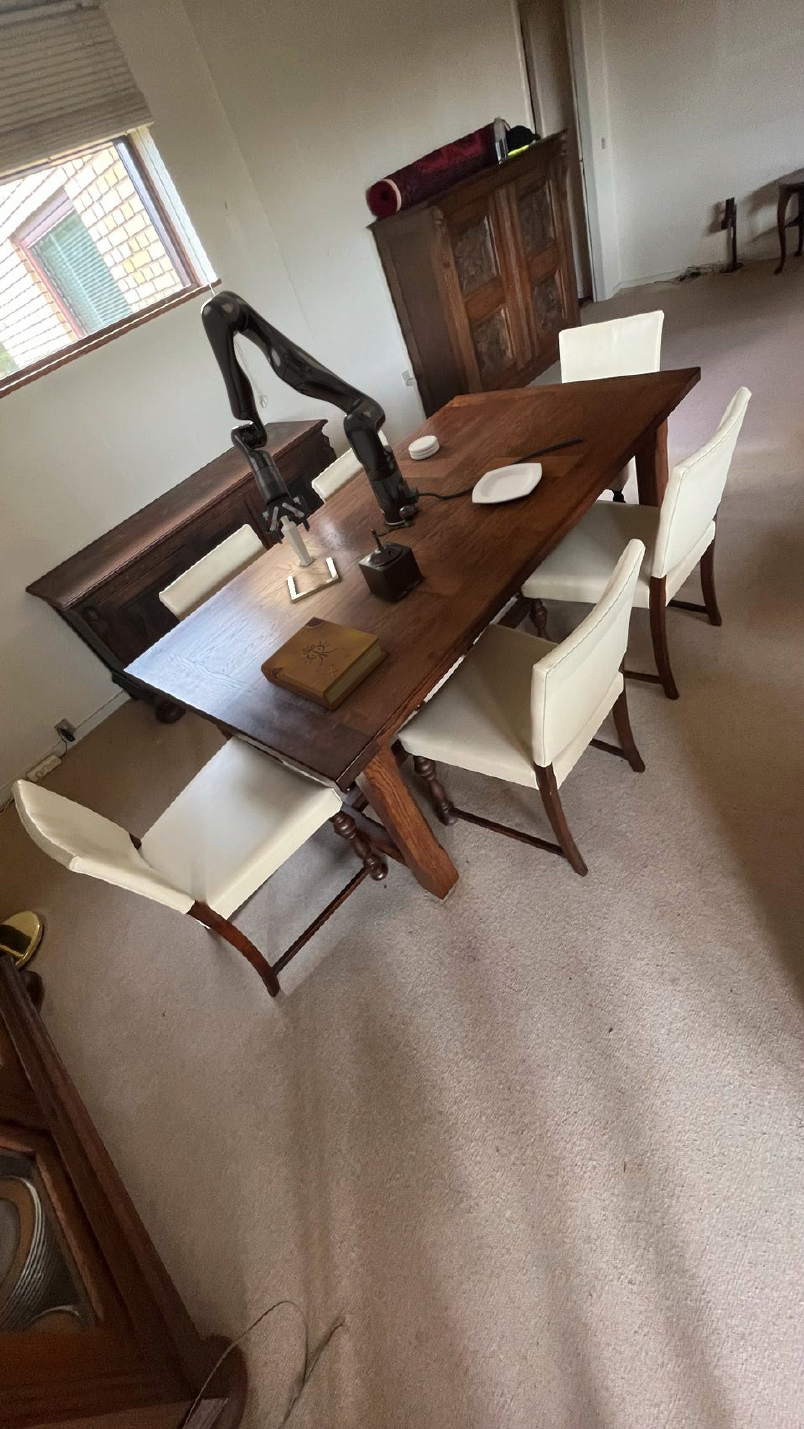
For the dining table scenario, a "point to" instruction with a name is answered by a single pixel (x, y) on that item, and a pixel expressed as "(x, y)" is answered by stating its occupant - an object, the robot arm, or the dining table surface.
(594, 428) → the dining table surface
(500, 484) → the plate
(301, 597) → the brass frame
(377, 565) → the black coffee grinder
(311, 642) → the diary
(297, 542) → the white faceted vase
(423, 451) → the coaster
